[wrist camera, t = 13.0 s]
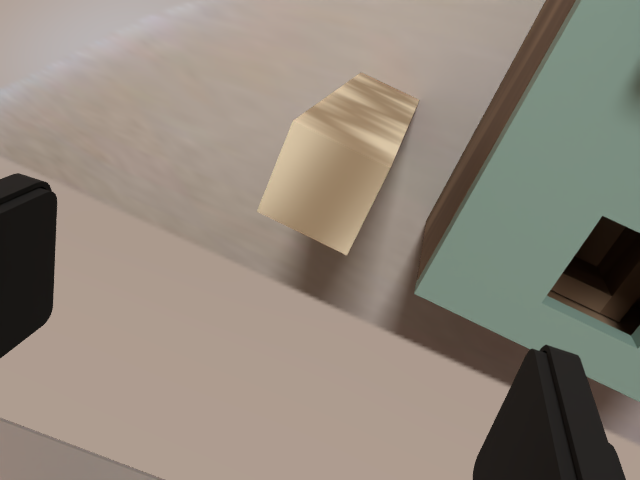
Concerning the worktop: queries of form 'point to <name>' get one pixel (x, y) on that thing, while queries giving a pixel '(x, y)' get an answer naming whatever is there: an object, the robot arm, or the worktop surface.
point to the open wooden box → (605, 239)
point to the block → (338, 161)
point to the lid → (553, 196)
